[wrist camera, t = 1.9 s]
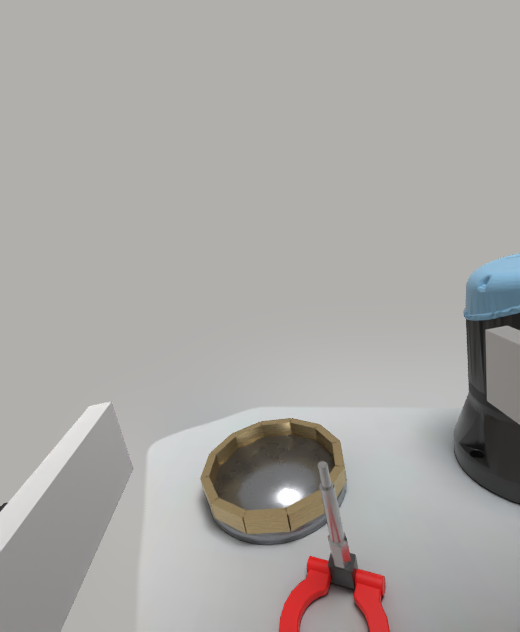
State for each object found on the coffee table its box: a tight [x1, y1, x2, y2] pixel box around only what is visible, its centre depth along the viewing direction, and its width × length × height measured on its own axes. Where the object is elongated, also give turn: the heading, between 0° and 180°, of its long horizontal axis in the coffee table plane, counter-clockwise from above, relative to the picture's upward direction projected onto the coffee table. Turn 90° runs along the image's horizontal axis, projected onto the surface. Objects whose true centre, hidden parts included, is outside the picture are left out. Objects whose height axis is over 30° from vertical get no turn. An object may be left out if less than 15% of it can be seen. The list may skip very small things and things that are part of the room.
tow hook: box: [279, 461, 390, 632], centre depth 26 cm, size 8×13×9 cm
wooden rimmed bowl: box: [201, 418, 347, 545], centre depth 44 cm, size 17×17×4 cm
